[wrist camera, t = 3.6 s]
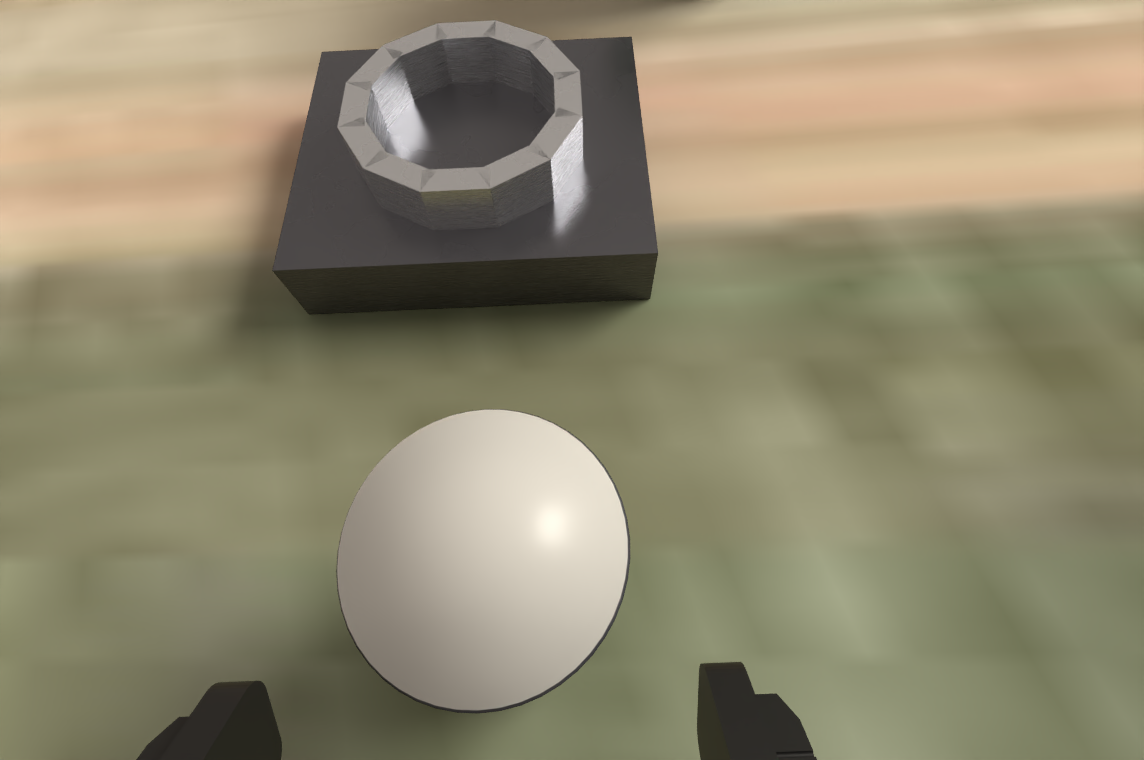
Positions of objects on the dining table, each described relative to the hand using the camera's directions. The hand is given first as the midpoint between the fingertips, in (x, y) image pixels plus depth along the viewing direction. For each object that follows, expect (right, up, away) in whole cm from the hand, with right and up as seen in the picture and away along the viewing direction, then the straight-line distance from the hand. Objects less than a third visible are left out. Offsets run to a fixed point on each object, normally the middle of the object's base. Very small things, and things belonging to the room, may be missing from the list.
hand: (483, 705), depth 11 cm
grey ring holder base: (-2, +14, +16) cm, 21 cm away
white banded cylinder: (0, -1, +8) cm, 8 cm away
